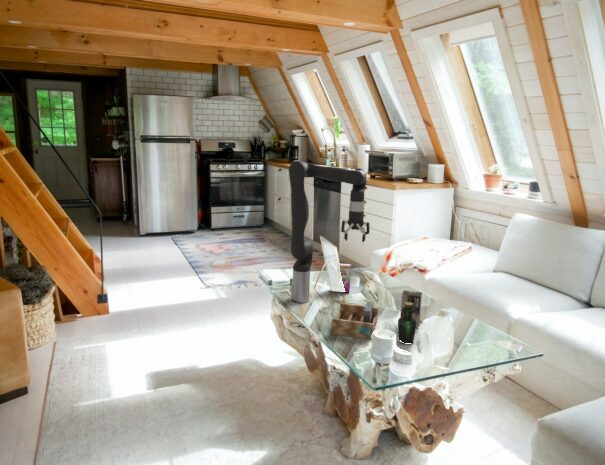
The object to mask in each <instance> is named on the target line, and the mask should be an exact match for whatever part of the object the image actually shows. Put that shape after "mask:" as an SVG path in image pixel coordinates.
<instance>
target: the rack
mask: <svg viewBox="0 0 605 465" xmlns="http://www.w3.org/2000/svg"><path fill="white" fill-rule="evenodd" d="M339 305H340V306H339V312H338V313H337V316H336V318H333V317H332V318H331V319H332V320H331V334H332V335H341V336H346V337H347V336H348V337H353V338H354V337H355V338H361V339H368V340H370V339H369V338H371V335H372V333H373V331H374V330H376V327H377V324H376V323H378V315H379V307H376V306H373V315H372V323H366V322H363V316H364V309H365V306H366V305H360V304H353V303H344V302H340V303H339ZM375 326H376V327H375ZM374 332H375V331H374Z"/></svg>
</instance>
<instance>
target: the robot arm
mask: <svg viewBox="0 0 605 465" xmlns="http://www.w3.org/2000/svg"><path fill="white" fill-rule="evenodd" d="M288 176H289V183H290V209H291V210H290V214H291V215H290V216H291V241H290V252H291V256H292V257H293V258H295V259H296V261H295V262H294V263H293V265H292V283H291V288H290V293H291V294H290V301H291V300H294V301H296V302H295V303H297V302H299V303H298V304H305V303H308V302H309V301H310V284H311V282H310V280H311V266H312V264H313V256H314V255H313V254H314V249H313V244H312V243H311V241H310V240H307V239H305V230H306V227H307V224H308V221H309V216H310V213H309V212H310V210H309V209H310V207H309V206H310V205H309V199H308V196H307V194H306V190H305V178H316V179H322V180H326V181H330V182H335V183H337V182H338V183H344V184H345V183H346V184H349V185H352V189H351V190H350V196H349V204H348V220H345V219H343V220H342V221H341V228H340V232H341V233H344V236H343V237H344V238H343V239H344V240H345V241H348V234H349V233H348V232H349V231H350V230H352V231H353V230H356V231H360V232H361V234H362V238H361V243H364V242H366V235H369V234H370V227H371V226H370V221H364V216H365V215H364V214H365V191H366V186H367V180H368V179H367V178H368V177H367V173H366V172H365V171H364V170H362V169H357V170H352V169H346V168H342V167H336V166H335V167H334V166H325V165H324V166H323V165H316V164H314V163H309V162H306V161H305V160H304V161H303V160H297V161H293V162H292V163H290V165H289V167H288ZM347 224H348V227H347V228H346V229H345V227H346V226H345V225H347ZM363 226H364V227H366V231H365V229H364V227H363ZM294 301H293V302H294Z"/></svg>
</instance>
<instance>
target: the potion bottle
mask: <svg viewBox="0 0 605 465" xmlns="http://www.w3.org/2000/svg"><path fill="white" fill-rule="evenodd" d="M402 311H403V312H404V316H403V317H401V316H400V317H399V318H398V320H397V325H398V326H397V331H398V332H397V333H398V336H397V337H398V338H399V340H401V341H402V342H404V343H412V344H413V343H414V339H415V335H416V329H417V328H416V324H417V322H416V320H415V319H414V318H412V317H411V316H412V313H414V312H415V309H414V308H413V303H411V302H405V307H403V308H402Z"/></svg>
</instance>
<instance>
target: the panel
mask: <svg viewBox="0 0 605 465" xmlns="http://www.w3.org/2000/svg"><path fill="white" fill-rule="evenodd" d="M364 306H365V309H364V316H363V322H366V323H372V315H373V307H374V302H371V301H366V304H365V305H364Z"/></svg>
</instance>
